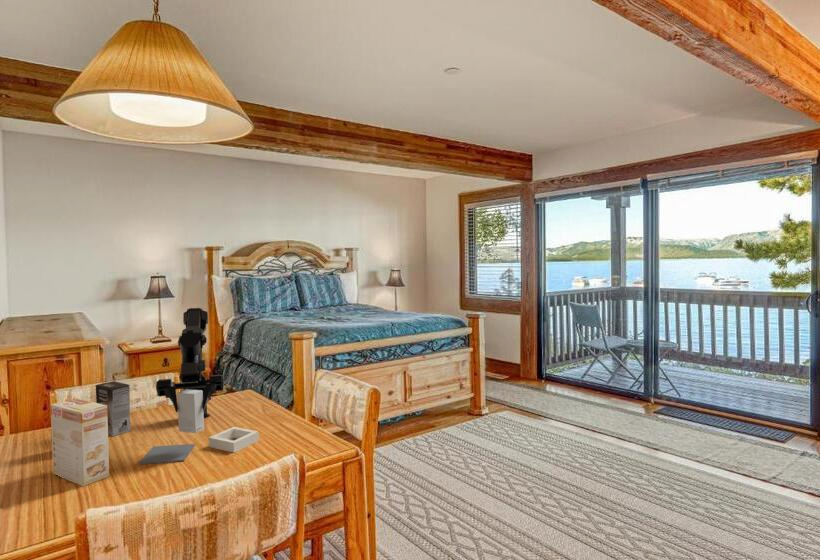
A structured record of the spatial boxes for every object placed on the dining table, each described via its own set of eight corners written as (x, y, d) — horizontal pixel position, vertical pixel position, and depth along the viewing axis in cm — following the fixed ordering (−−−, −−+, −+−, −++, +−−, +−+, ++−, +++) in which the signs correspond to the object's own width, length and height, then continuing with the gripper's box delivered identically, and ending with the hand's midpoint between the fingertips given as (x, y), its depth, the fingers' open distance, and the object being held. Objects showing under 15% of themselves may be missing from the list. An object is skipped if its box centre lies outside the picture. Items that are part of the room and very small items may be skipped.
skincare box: (204, 428, 148) (204, 389, 147) (195, 434, 143) (194, 393, 143) (187, 427, 149) (186, 388, 148) (177, 432, 145) (176, 392, 144)
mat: (153, 448, 150) (153, 446, 150) (194, 445, 152) (194, 443, 152) (138, 464, 138) (138, 462, 138) (183, 461, 140) (183, 459, 140)
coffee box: (96, 432, 163) (94, 384, 162) (115, 426, 169) (113, 380, 168) (112, 437, 159) (110, 388, 158) (131, 430, 164) (130, 383, 164)
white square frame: (234, 435, 160) (233, 426, 160) (258, 440, 155) (258, 431, 155) (208, 447, 150) (208, 437, 150) (234, 452, 146) (234, 443, 146)
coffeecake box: (110, 476, 131) (108, 404, 130) (82, 487, 124) (79, 412, 123) (80, 464, 138) (77, 397, 137) (51, 474, 131) (49, 403, 130)
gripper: (155, 353, 145) (152, 400, 136) (222, 349, 152) (223, 393, 142) (159, 373, 153) (156, 418, 143) (223, 368, 160) (223, 411, 150)
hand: (190, 410), depth 145 cm, fingers closed on skincare box, 7 cm apart
